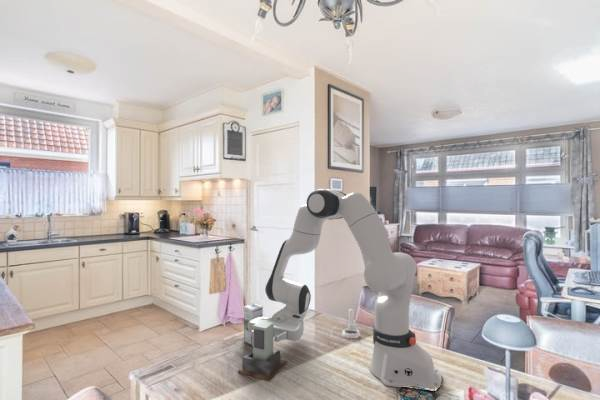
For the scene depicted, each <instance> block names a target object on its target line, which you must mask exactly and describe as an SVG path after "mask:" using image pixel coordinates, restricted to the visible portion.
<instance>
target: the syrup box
mask: <svg viewBox="0 0 600 400" xmlns="http://www.w3.org/2000/svg"><path fill="white" fill-rule="evenodd" d="M263 307H264V306H262V305H260V304H257V303H249V304H247V305H244V306H243V341H244V342H245V343H246V344H248V345H250V346H251V347H253V336H251V332H250V331H249V329H248V323H249V321H250V320H252V319H254V318H257V317H264V308H263Z"/></svg>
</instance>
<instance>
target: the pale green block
mask: <svg viewBox="0 0 600 400" xmlns="http://www.w3.org/2000/svg"><path fill="white" fill-rule="evenodd" d="M252 351H253V358H255V359H259V360H263V361H267V360H268V359H269V358H270V357H271V356H272V355H273V354H274V337H273V323H272V322H266V321H259V322H258V323H256V324H255V325H253V346H252Z"/></svg>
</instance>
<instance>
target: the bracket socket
mask: <svg viewBox="0 0 600 400" xmlns="http://www.w3.org/2000/svg"><path fill="white" fill-rule="evenodd" d="M286 365H288V361H287V360H285V359H281V350H277V351H276V352H274V353H273V355H272V356H271V357H270V358H269V359H268V360H267V361H263V360H259V359H255V358H253V350H251V351H250V352H249V353H248V354H246V355H243V356H242V366H241V367H240V368H238V370H237V372H238V374H241V375H244V376H248V377H251V378H255V379H258V380H263V381H265V382H271V381H272V380H273V379H274V378H275V377H276V376H277V375H278V374H279V373H280V372H281V371H282V369H284V367H285V366H286Z"/></svg>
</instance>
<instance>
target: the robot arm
mask: <svg viewBox="0 0 600 400" xmlns="http://www.w3.org/2000/svg"><path fill="white" fill-rule="evenodd" d="M340 219H343V220H344V221H345V223H346V224H347V226H348V228H349V230H350V232H351V234H352V235H353V238H354V239H355V241H356V242H357V243H356V244H357V245H358V247H359V250H360V252H361V257H362V260H363V264H364V271H363V278H364V282H365V284H366V286H367V287H368V288H369V289H370V290H371V291H373V292H376V293H378V295H377V298H376V300H375V302H374V303H375V304H374V326H373V328H372V341H373V349H372V358H371V362H370V364H369V370H370V372H371V374H372V375H373V376H374V377H376V378H377V379H379V380H380V381H381V382H382V384H383V385H385V386H388V387H394V388H401V386H408V385H410V386H417V387H424V388H429V389H434V388H435V387H437V388H438V387H439V386H440V385H441V386H442V384H441V382H442V383H443V381H442V380H443V379H442V377H443V376H442V373H441V371H440V370H439V369H438V368H437V367H436V366H434V362H433V358H432V356H431V355H430V353H429V352H428V351H426V350H425V349H424V348H423V347H421V346H420V345H419V344H418V343H417V339H416V332H415V330H413V331H412V330H410V305H411V298H412V294H413V293H412V292H413V286H414V280H415V276H416V273H417V268H418V266H417V262H416V260H415V258H413V256H412V255H410V254H409V253H406V252H398V251H397V252H393V249H392V247H391V244H390V240H389V234H390V233H389V231H388V230H387V228H386V226H385V224H384V222H383V221H382V220H381V218H380V216H379V214H378V213H377V211H376V210H375V208H374V206H373V205H372V204H371V203H370V201H369V200H368V199H367V198H366V196H364V194H362V193H361V192H350V193H348V194H346V193H344V192H342V191H338V190H333V189H325V188H320V189H316V190H313V191H312V192H310V193H309V195H308V196H307V198H306V203H305V204H302V205H301V206H300V207H299V209H298V211H297V214H296V217H295V220H294V224H293V228H292V232H291V235H290V237H289V238H288V239H285V240H284V241H283V242H282V244H281V246H280V249H279V250H278V251H279V252H278V254H277V256H276V260H275V263H274V266H273V268H272V270H271V273H270V277H269V278H268V280H267V283H266V285H265V294H266V296H267V298H268V300H270V301H273V302H277V303H281V304H282V305H283V304H284V305H285V306H284V307H283V308H281V309H280V310H278V311H276V312H275V313H274V314H273V315H272V316H271V317H267V316H263V317H257V318H254V319H252V320H250V321H249V323H248V329H249V331H250V332H251V336H253V325H255V324H256V323H258V322H259V321H266V322H272V323H273V342H277V343H279V342H280V341H284V340H287V341H292V342H296V341H299V340H300V339H301V338H302V336H303V335H304V330H305V329H304V328H305V327H304V320H305V319H306V316H307V314H308V309H309V307H310V302H311V298H312V297H311V296H312V295H311V291H310V289H309V287H308V286H307V284H304V283H301V282H299V281H294V280H291V279H288V278H286V277H285V276H284V275H285V271H286V268H287V266H288V263H289V261H290V258H291V257H293V256H296V255H305V254H309V253H311V252H312V251H314V250H315V249H316V248H317V247H318V245H319V242H320V239H321V234H322V228H323V225H324V222H325V221H326V220H340Z"/></svg>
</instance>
